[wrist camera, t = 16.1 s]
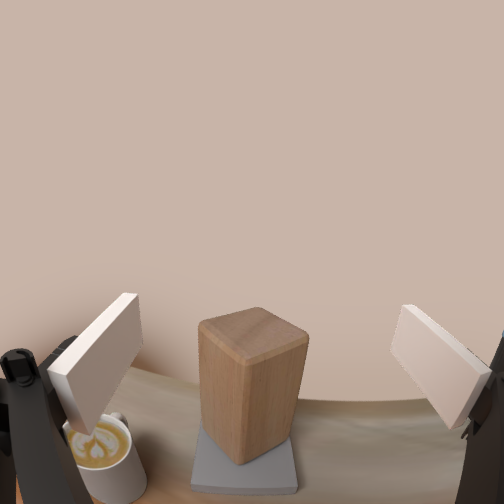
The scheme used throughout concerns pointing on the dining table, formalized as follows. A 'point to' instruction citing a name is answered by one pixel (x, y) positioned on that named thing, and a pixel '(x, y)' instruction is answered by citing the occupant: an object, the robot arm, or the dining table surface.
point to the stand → (243, 470)
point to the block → (249, 380)
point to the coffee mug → (108, 460)
